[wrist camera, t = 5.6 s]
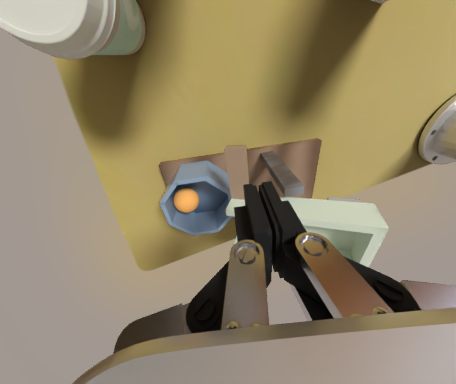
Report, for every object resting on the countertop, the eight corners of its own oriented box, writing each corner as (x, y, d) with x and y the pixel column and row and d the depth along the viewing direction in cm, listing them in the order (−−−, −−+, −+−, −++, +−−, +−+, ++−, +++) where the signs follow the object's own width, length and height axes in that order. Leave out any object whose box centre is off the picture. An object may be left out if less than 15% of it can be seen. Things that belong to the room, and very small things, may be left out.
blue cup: (226, 157, 26) (229, 173, 22) (233, 208, 32) (237, 229, 27) (162, 167, 27) (151, 184, 22) (180, 216, 32) (175, 238, 28)
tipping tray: (390, 133, 14) (427, 158, 10) (350, 237, 21) (362, 277, 17) (233, 138, 19) (216, 157, 15) (243, 223, 26) (232, 251, 22)
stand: (317, 138, 27) (379, 170, 17) (308, 194, 33) (350, 243, 23) (160, 162, 27) (130, 208, 17) (180, 213, 33) (165, 270, 23)
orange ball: (172, 185, 28) (196, 181, 28) (179, 204, 30) (201, 200, 30) (167, 199, 24) (195, 194, 24) (176, 220, 27) (201, 215, 27)
